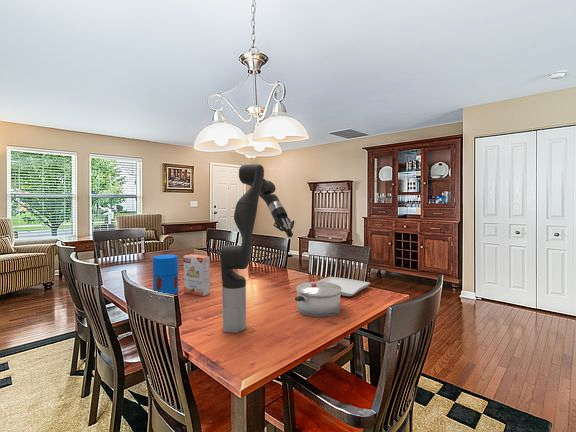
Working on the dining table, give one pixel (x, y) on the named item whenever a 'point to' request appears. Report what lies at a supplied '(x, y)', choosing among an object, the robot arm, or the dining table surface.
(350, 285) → the square plate
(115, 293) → the dining table surface
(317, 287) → the lid
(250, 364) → the dining table surface
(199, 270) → the cracker box
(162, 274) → the thermos
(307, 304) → the pot
